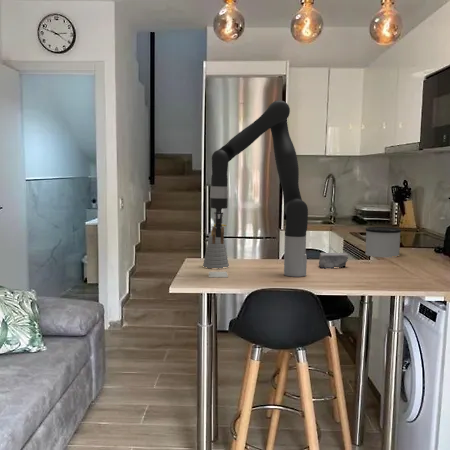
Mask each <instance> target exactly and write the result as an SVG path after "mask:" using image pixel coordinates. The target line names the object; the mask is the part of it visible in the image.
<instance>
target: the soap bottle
mask: <svg viewBox="0 0 450 450" xmlns="http://www.w3.org/2000/svg"><path fill="white" fill-rule="evenodd" d="M213 226H215V223H214V224H213ZM222 227H227V224H222ZM220 240H221V237H220V238H219V237H216V235H215V244H212V234H210V235H209V236H208V240H207V244H206V250H205V254H204V259H203V263H202V267H203V266H204V267H207V268H223V267H228V266H230V265H229V260H228V253H227V250H226V249H227V248H226V243H224V244H221V243H220ZM204 267H203V268H204ZM207 268H206V269H207ZM228 268H229V267H228Z"/></svg>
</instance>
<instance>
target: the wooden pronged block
mask: <svg viewBox="0 0 450 450" xmlns="http://www.w3.org/2000/svg"><path fill="white" fill-rule="evenodd" d="M211 228H212V229H211V235H212V244H215V235H216V228H215V226H214V225H213V226H212V227H211ZM224 237H225V226H222V228H221V240H220V243H221V244H225V239H224Z"/></svg>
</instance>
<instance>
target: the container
mask: <svg viewBox="0 0 450 450" xmlns="http://www.w3.org/2000/svg"><path fill="white" fill-rule="evenodd" d="M365 231H366V233H365V253H364V255H366V256H369V257H375V258H393V257H392V256H398V255H400V251H401V250H400V249H401V248H400V247H401V245H400V243H401V233H402V229H400V228H397V227H389V226H388V227H386V226H385V227H384V226H372V227H371V226H370V227H366V228H365Z"/></svg>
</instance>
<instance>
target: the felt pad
mask: <svg viewBox="0 0 450 450" xmlns="http://www.w3.org/2000/svg"><path fill="white" fill-rule="evenodd" d="M228 277H229V276H228V272H227V271H208V278H228Z"/></svg>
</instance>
